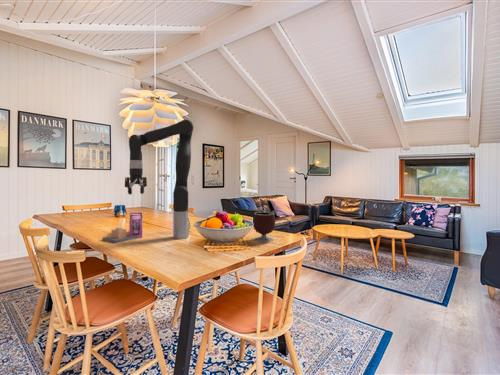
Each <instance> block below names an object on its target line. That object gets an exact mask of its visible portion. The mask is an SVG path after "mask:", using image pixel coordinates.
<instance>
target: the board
mask: <svg viewBox="0 0 500 375" xmlns="http://www.w3.org/2000/svg"><path fill="white" fill-rule="evenodd" d="M115 229H116V230H118V231H120V230H122V229H123V228H122V226H116V227H115ZM131 240H136V238H135V236H129V234H126V237H124V238H119V239H118V238H113V237H111V235H109V236H105V237H102V241H105V242H109V243H114V244H118V243H123V242H127V241H131Z"/></svg>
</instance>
